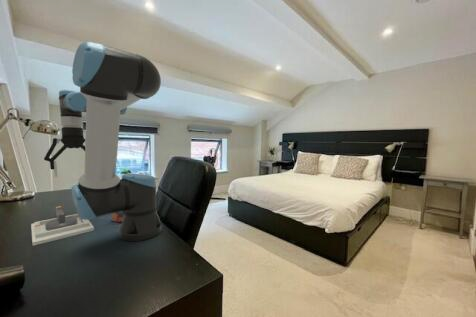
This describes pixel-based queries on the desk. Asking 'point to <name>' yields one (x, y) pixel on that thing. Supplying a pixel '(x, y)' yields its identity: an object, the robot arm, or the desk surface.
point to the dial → (60, 220)
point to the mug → (117, 216)
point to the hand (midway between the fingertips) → (75, 175)
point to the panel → (58, 230)
